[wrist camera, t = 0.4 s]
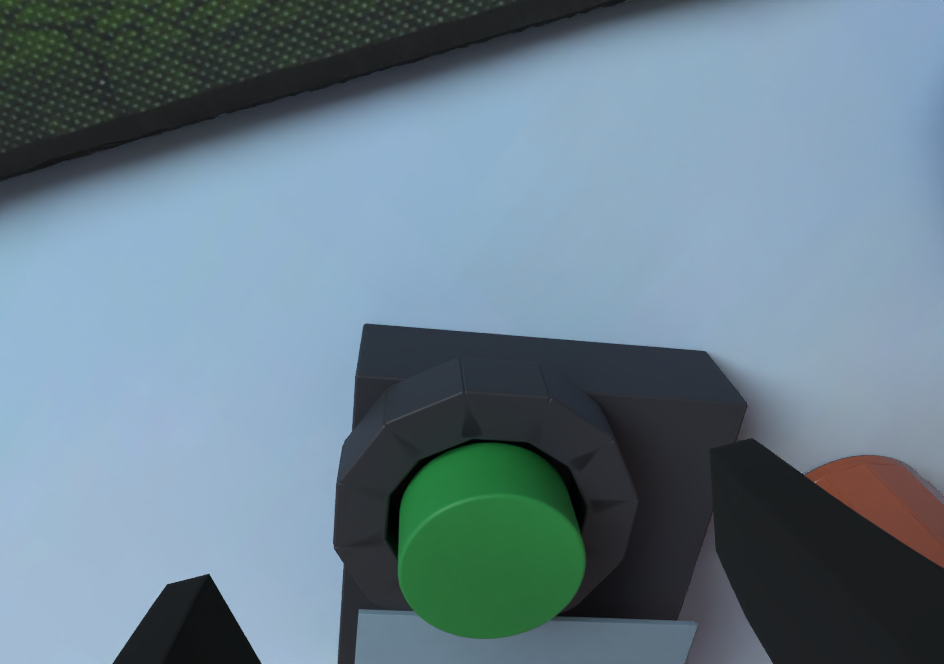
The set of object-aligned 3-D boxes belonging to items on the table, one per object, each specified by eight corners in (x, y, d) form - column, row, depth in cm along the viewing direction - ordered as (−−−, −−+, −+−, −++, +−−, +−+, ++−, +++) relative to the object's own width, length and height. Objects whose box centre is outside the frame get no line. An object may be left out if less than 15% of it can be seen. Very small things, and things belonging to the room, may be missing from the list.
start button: (553, 580, 18) (568, 643, 16) (392, 573, 18) (390, 638, 16) (583, 445, 16) (604, 501, 15) (406, 434, 16) (406, 490, 14)
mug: (789, 448, 22) (942, 634, 16) (956, 459, 22) (1167, 642, 16) (724, 627, 25) (829, 843, 19) (872, 632, 26) (1021, 843, 19)
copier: (614, 667, 25) (652, 795, 21) (335, 659, 24) (319, 793, 20) (712, 327, 20) (788, 414, 16) (357, 297, 19) (341, 382, 15)
